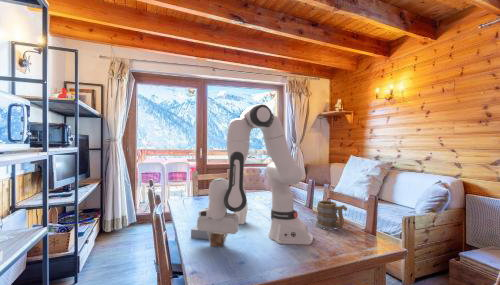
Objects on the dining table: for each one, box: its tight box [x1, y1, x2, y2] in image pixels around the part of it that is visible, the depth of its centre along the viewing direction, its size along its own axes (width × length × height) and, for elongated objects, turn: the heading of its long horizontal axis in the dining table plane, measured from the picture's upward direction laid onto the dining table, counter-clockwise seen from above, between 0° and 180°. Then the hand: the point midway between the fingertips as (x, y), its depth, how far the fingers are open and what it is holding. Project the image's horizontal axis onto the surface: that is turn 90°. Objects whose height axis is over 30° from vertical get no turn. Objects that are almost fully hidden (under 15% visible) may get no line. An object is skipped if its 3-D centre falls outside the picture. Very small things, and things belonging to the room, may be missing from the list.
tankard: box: [315, 200, 348, 230], centre depth 137 cm, size 20×13×15 cm, turn 27°
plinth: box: [190, 225, 214, 240], centre depth 125 cm, size 11×11×4 cm
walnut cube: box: [209, 232, 225, 248], centre depth 113 cm, size 5×5×5 cm
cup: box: [233, 202, 249, 225], centre depth 146 cm, size 9×9×12 cm
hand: (217, 240), depth 113 cm, fingers closed on walnut cube, 5 cm apart
